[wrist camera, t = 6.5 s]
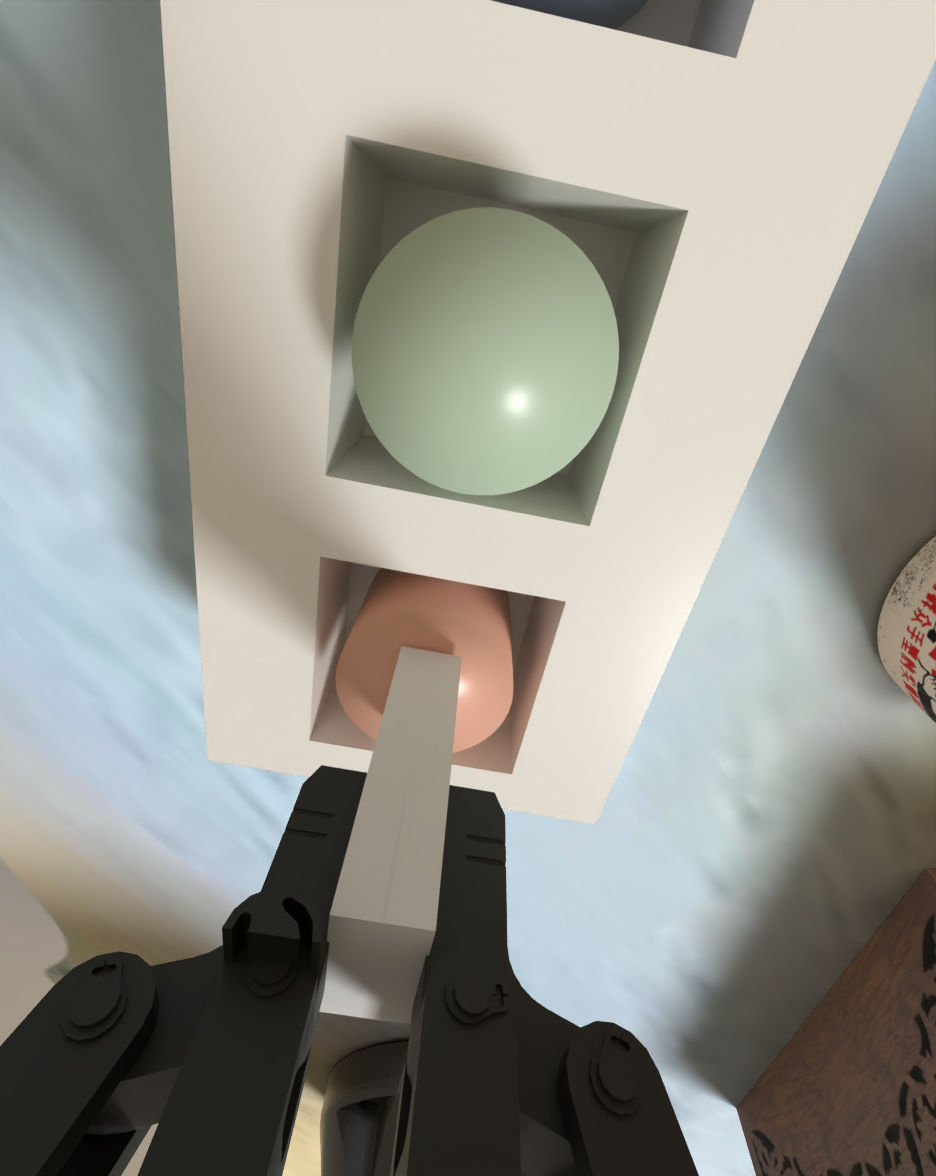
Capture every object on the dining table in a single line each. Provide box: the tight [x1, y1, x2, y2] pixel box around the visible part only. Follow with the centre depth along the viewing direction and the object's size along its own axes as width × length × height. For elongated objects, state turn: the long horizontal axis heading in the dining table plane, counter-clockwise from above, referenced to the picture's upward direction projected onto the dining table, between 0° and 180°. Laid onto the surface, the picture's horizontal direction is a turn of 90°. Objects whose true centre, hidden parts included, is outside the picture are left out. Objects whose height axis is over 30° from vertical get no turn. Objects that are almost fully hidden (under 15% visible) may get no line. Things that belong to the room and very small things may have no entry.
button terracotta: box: [336, 568, 513, 753], centre depth 16 cm, size 5×5×4 cm
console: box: [160, 0, 936, 824], centre depth 13 cm, size 25×12×5 cm, turn 170°
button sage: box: [352, 207, 619, 495], centre depth 11 cm, size 5×5×4 cm
